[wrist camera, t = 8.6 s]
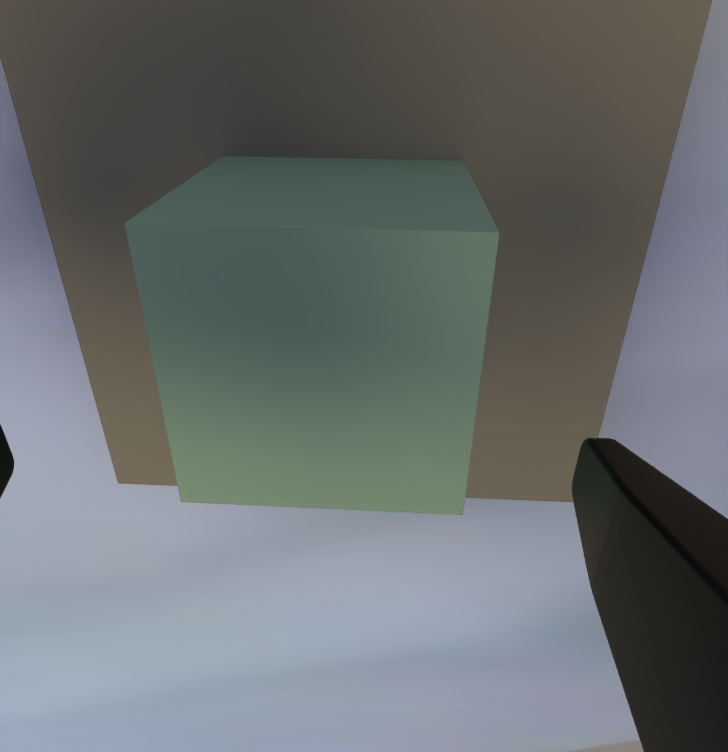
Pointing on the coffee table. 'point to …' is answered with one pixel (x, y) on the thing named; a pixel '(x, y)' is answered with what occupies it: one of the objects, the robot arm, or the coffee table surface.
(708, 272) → the coffee table surface
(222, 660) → the coffee table surface
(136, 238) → the cube
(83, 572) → the coffee table surface
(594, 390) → the mat
